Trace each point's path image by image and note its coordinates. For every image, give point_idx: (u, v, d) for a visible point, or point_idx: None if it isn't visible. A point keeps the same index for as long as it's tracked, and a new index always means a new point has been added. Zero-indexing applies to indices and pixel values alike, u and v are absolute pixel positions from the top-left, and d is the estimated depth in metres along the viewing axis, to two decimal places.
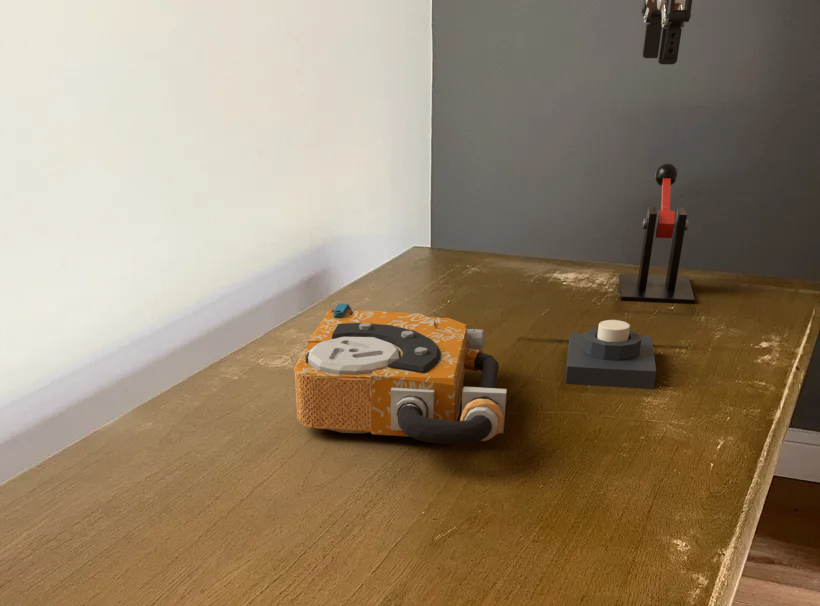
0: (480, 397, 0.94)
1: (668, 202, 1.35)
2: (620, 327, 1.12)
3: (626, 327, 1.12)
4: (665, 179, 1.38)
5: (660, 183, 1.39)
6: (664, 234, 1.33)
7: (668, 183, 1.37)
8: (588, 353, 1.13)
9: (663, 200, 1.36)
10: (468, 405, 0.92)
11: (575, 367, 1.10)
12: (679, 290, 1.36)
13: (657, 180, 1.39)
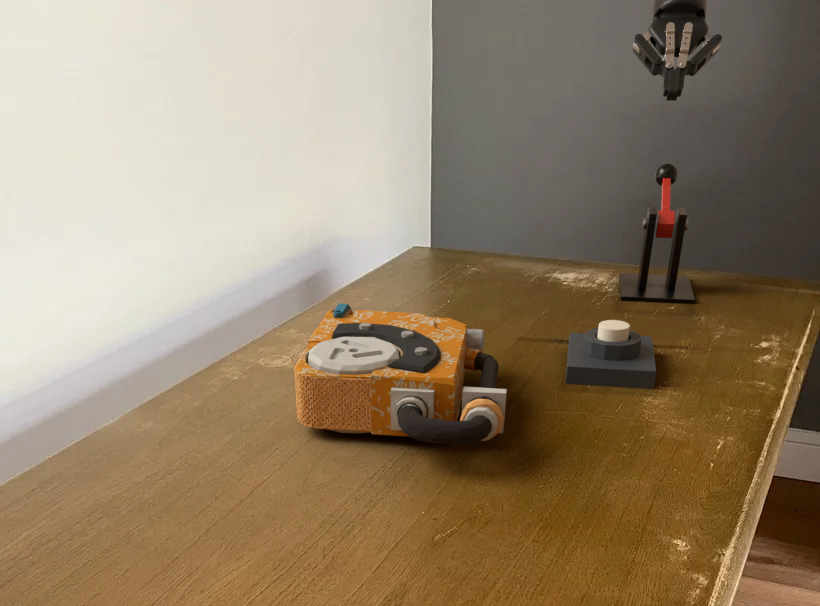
0: (480, 397, 0.94)
1: (668, 202, 1.35)
2: (620, 327, 1.12)
3: (626, 327, 1.12)
4: (665, 179, 1.38)
5: (660, 183, 1.39)
6: (664, 234, 1.33)
7: (668, 183, 1.37)
8: (588, 353, 1.13)
9: (663, 200, 1.36)
10: (468, 405, 0.92)
11: (575, 367, 1.10)
12: (679, 290, 1.36)
13: (657, 180, 1.39)
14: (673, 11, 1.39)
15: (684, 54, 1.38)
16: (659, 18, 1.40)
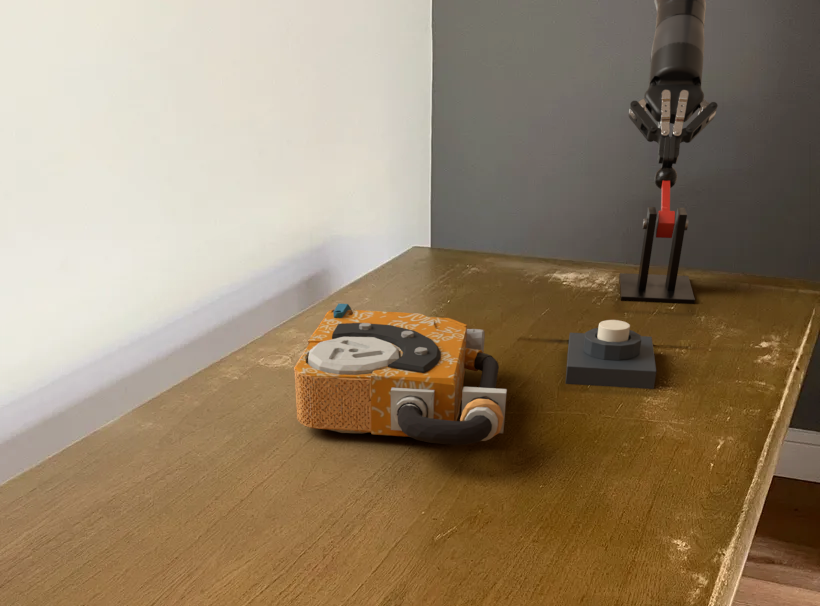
0: (480, 397, 0.94)
1: (668, 203, 1.35)
2: (620, 327, 1.12)
3: (626, 327, 1.12)
4: (665, 181, 1.38)
5: (660, 186, 1.39)
6: (664, 234, 1.33)
7: (668, 185, 1.38)
8: (588, 353, 1.13)
9: (663, 201, 1.36)
10: (468, 405, 0.92)
11: (575, 367, 1.10)
12: (679, 290, 1.36)
13: (657, 183, 1.39)
14: (669, 78, 1.39)
15: (679, 122, 1.39)
16: (655, 84, 1.40)
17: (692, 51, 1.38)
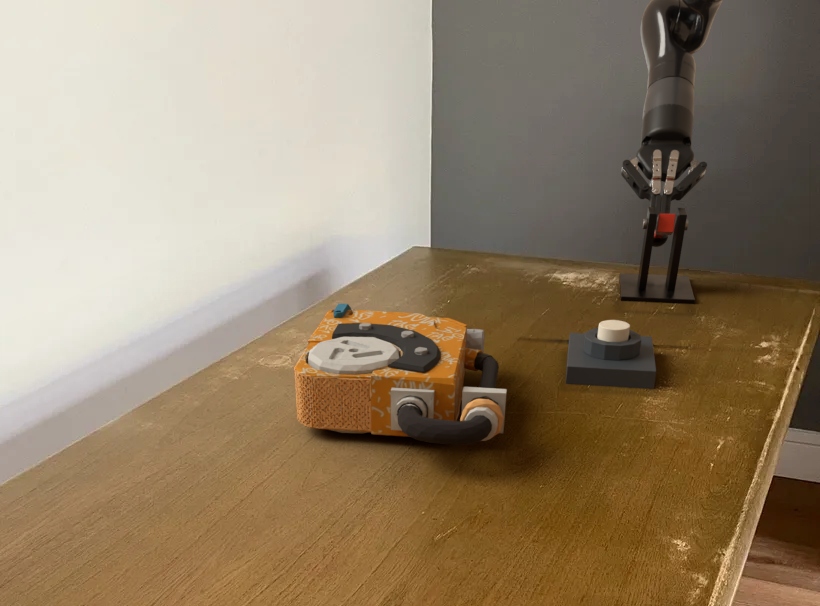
0: (480, 397, 0.94)
1: None
2: (620, 327, 1.12)
3: (626, 327, 1.12)
4: None
5: None
6: (665, 227, 1.32)
7: None
8: (588, 353, 1.13)
9: None
10: (468, 405, 0.92)
11: (575, 367, 1.10)
12: (679, 290, 1.36)
13: None
14: (660, 138, 1.44)
15: (670, 181, 1.43)
16: (647, 144, 1.45)
17: (682, 112, 1.43)
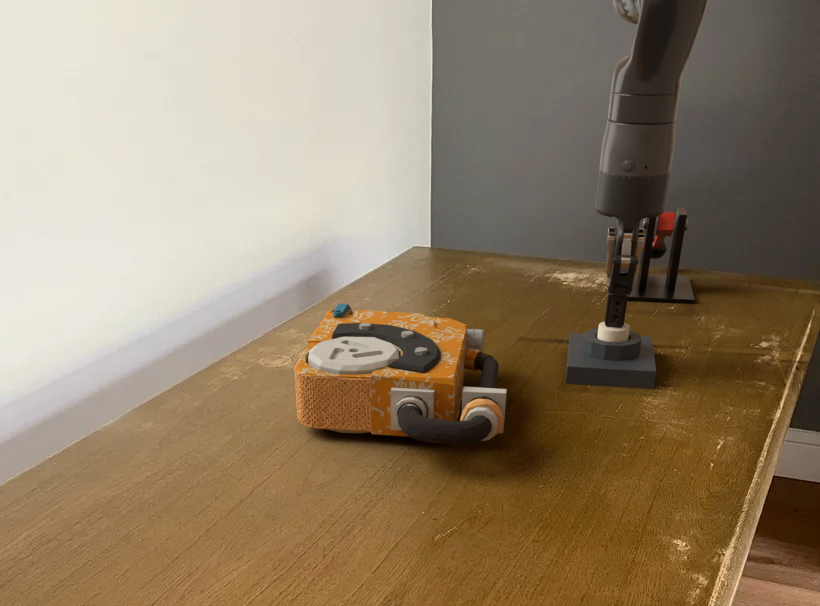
0: (480, 397, 0.94)
1: None
2: (619, 328, 1.12)
3: (626, 328, 1.12)
4: None
5: None
6: (666, 225, 1.32)
7: None
8: (588, 353, 1.13)
9: None
10: (468, 405, 0.92)
11: (575, 367, 1.10)
12: (679, 290, 1.36)
13: None
14: None
15: None
16: (639, 223, 1.03)
17: None
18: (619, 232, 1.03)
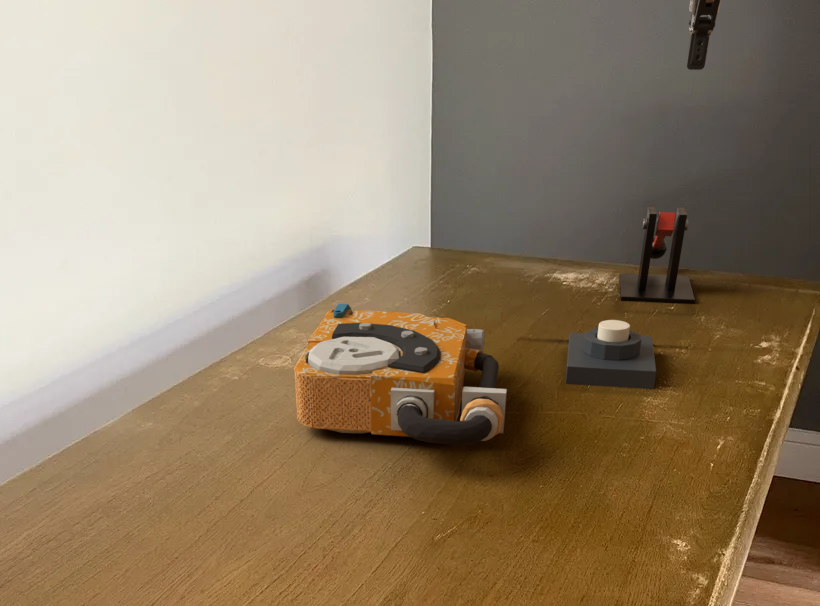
0: (480, 397, 0.94)
1: None
2: (620, 327, 1.12)
3: (626, 327, 1.12)
4: None
5: None
6: (666, 225, 1.32)
7: None
8: (588, 353, 1.13)
9: None
10: (468, 405, 0.92)
11: (575, 367, 1.10)
12: (679, 290, 1.36)
13: None
14: None
15: None
16: None
17: None
18: None
